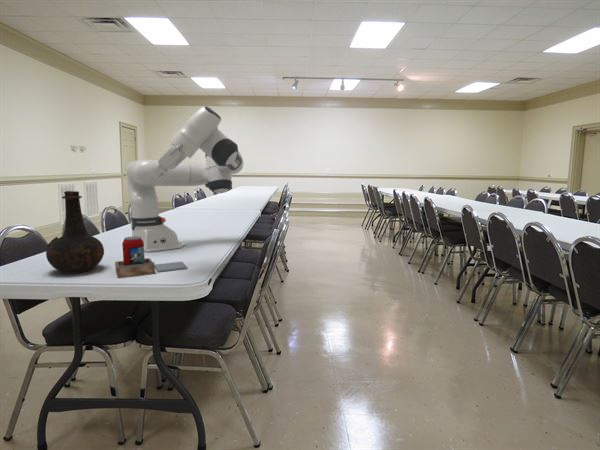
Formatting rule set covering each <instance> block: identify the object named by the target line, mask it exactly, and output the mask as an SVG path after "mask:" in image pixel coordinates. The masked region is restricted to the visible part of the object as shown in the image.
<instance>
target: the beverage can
mask: <svg viewBox="0 0 600 450" xmlns="http://www.w3.org/2000/svg"><path fill="white" fill-rule="evenodd" d="M122 257H123V258H122V261H124V266H125V265H134V264H143V263H145V259H146V258H145V251H144V243H143V240H142V239H141V237H139V236H125V237H124V238H123V241H122Z"/></svg>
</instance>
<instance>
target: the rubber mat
mask: <svg viewBox="0 0 600 450" xmlns="http://www.w3.org/2000/svg"><path fill="white" fill-rule="evenodd" d="M154 267H155V271H157V273H163V272H172V271H183V270H188V269H189V268H188V266H187V265H186V264H185V263H184V262H183V261H174V262H166V263H165V262H164V263H154Z"/></svg>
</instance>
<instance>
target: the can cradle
mask: <svg viewBox="0 0 600 450" xmlns="http://www.w3.org/2000/svg"><path fill="white" fill-rule="evenodd" d="M114 264H115V272H116V277H117V278H127V277H128V278H129V277H137V276H144V275H151V274H155V273H156V268H155V267H154V265H155V262H154V261H152V258H150V257H148V258H145V263H143V264H134V265H125V266H124V260H120V261H119V260H118V261H115V262H114Z"/></svg>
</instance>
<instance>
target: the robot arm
mask: <svg viewBox="0 0 600 450" xmlns="http://www.w3.org/2000/svg"><path fill="white" fill-rule="evenodd" d="M221 121H222V118H221V116H220V115H219V114H218V113H217V112H215V110H213V109H212V108H210V107H208V106H207V105H206V106H205V105H204V106H202V107H200V108H199V109H198V110H197V111H195V112H194V113H193V115H190V117H189V118H188V120H186V122H185V124H184V126H183V127H181V128H180V129H179V130H177V132H176V133H175V134H174V135H173V136H172V138H171V139H170V140H169V142H170V143H171V144H170V146H169V147H168V149H166V150H167V151H165V153H164V154H163V155H162V156H160V158H159V159H158V160H155V159H138V160H137V159H136V160H133V161H132V162H130V163H128V165H127V168H126V180H127V184H128V185H127V186H128V191H129V195H130V205H131V207H130V208H131V217H130V227H131V231H132V236H139V237H141V239H142V240H143V243H144V253H145V252H146V253H147V252H148V253H152V252H159V251H167V250H174V249H181V248H183V247H184V243H183V242H182V241H179V239H178V235H177V233H176V231H175V230H173V229H171V228H170V227H168V226H167V225H166V224H164V223H165V222H166V218H165V217H163V216H160V215H159V198H158V195H157V192H156V187H172V186H173V187H195V186H197V187H198V186H202V185H204V187H206V188H208V189H209V191H211V192H212V193H216V194H224V193H227V192H229V191H230V190H232V187H233V181H232V175H235V174H238V173H239V172H241V171H242V169H243V168H244V159H243V156H242V154H241V152H240V150H239V146H238V144H237V143H236V142H235V141H233V140H232V139H230V138H229V137H228V136H227V135H225V134H224V133H223V132H222V131H221V130H220V129H219V127H218V126H219V125H220V124H221ZM199 149H200V150H201V151H202V152H203V153H204V154H205V155H204V157H205V164H203V163H198V162H191V161H184V160H186V158H189V159H192V157H193V156H194V155H195V154H196V152H197V151H198V150H199ZM132 236H131V237H132Z"/></svg>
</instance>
